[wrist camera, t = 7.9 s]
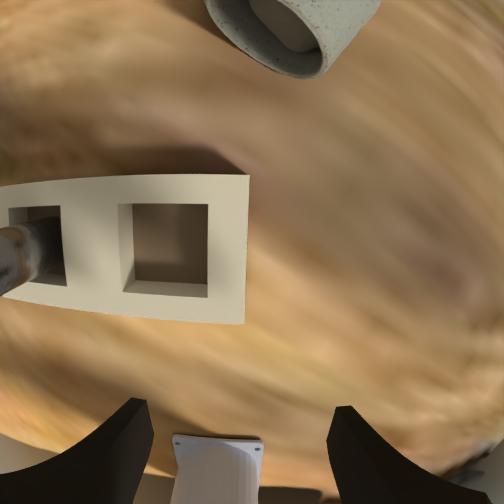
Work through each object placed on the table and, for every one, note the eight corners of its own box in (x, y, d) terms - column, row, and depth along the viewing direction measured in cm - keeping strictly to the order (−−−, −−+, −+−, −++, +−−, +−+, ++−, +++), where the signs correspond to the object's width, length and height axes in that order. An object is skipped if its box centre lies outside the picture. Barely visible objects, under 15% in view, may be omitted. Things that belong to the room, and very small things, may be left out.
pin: (76, 262, 18) (-2, 304, 10) (42, 268, 18) (-33, 306, 10) (66, 211, 17) (-20, 231, 9) (32, 221, 17) (-49, 243, 9)
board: (244, 303, 19) (244, 324, 16) (25, 284, 19) (3, 296, 16) (249, 176, 17) (249, 175, 15) (16, 185, 17) (-9, 187, 14)
